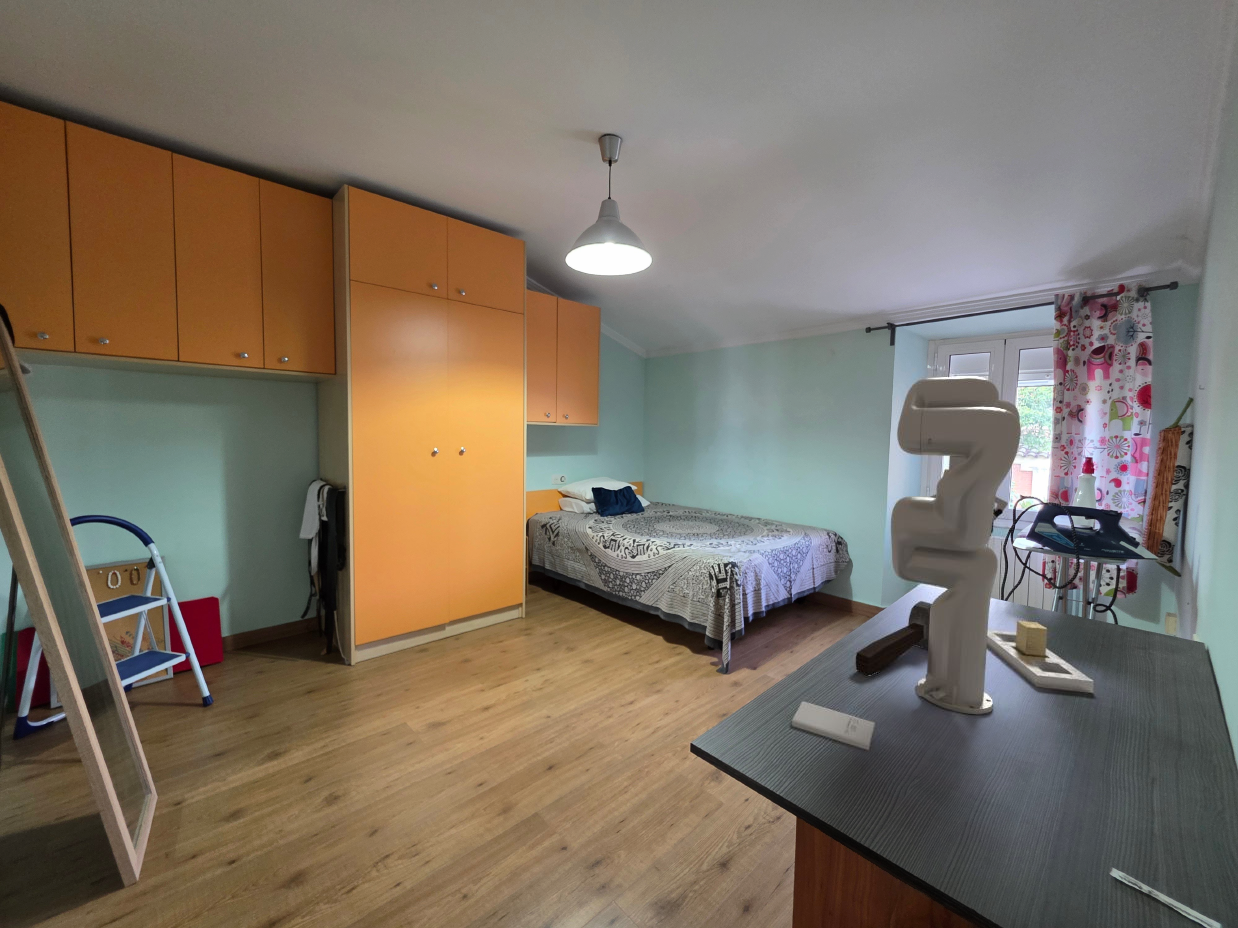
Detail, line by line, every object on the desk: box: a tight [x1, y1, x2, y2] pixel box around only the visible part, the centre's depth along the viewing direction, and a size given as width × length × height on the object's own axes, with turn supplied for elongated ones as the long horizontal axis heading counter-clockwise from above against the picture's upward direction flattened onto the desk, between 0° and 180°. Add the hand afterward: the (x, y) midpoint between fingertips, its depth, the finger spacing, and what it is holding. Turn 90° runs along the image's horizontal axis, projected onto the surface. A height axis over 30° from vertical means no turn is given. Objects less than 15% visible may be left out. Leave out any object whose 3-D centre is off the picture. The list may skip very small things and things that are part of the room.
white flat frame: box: [987, 629, 1095, 694], centre depth 117 cm, size 26×10×2 cm, turn 167°
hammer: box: [855, 600, 932, 676], centre depth 118 cm, size 5×11×30 cm
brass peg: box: [1015, 620, 1048, 658], centre depth 117 cm, size 4×4×9 cm
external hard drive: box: [791, 701, 876, 751], centre depth 90 cm, size 2×8×12 cm
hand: (963, 534), depth 123 cm, fingers open, 9 cm apart
